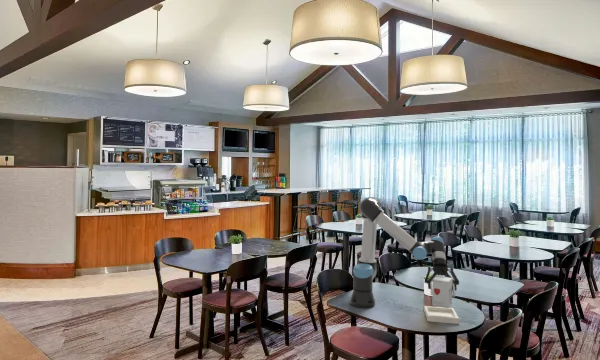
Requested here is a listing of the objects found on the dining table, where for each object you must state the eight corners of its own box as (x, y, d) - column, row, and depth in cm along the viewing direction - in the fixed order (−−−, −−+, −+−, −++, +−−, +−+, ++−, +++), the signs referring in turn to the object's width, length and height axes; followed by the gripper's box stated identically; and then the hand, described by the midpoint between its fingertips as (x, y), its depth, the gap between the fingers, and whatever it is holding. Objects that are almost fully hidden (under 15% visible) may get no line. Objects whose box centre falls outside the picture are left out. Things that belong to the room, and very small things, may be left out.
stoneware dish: (427, 321, 214) (427, 315, 214) (424, 310, 230) (424, 305, 229) (458, 323, 211) (458, 318, 211) (453, 313, 226) (453, 308, 226)
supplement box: (431, 305, 218) (431, 278, 218) (436, 301, 225) (436, 275, 225) (448, 308, 213) (448, 281, 212) (452, 304, 220) (453, 277, 220)
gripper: (459, 265, 232) (464, 299, 217) (418, 263, 237) (420, 296, 222) (461, 258, 227) (466, 292, 212) (418, 256, 231) (421, 290, 217)
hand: (443, 294), depth 217 cm, fingers closed on supplement box, 11 cm apart
